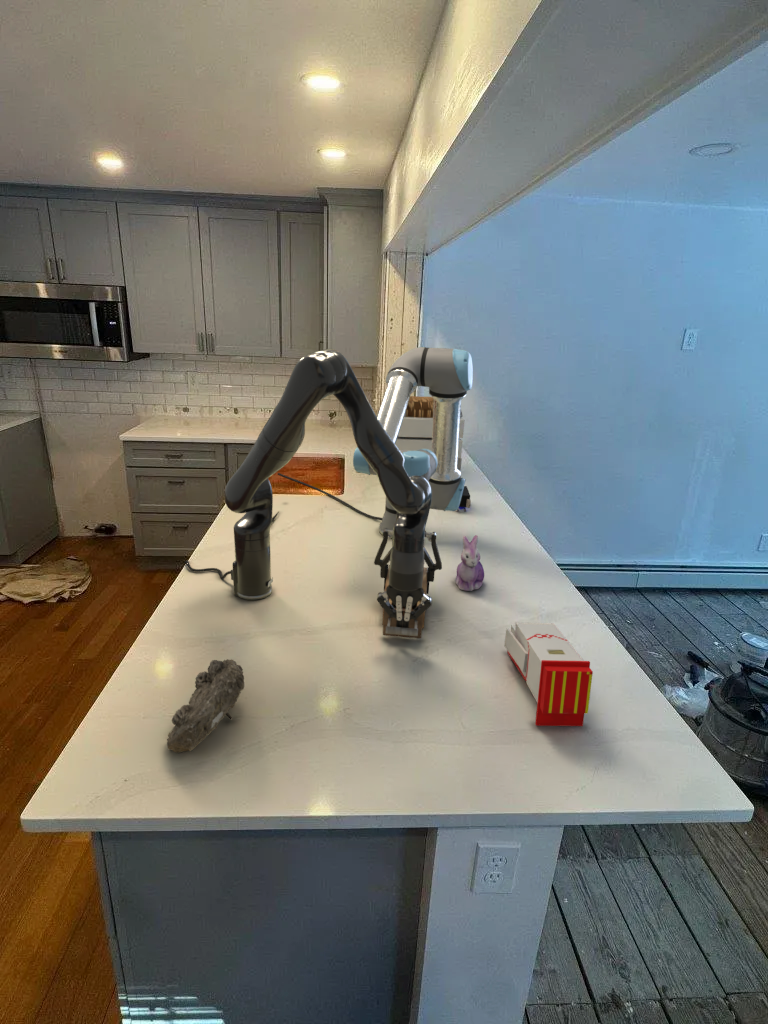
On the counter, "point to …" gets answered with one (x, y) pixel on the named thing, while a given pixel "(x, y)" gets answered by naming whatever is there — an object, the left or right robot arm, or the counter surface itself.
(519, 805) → the counter surface
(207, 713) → the fossil
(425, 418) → the grey storage bin
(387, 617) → the drawer
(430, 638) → the counter surface
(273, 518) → the feather
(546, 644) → the toy
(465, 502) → the figurine character
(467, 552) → the figurine
